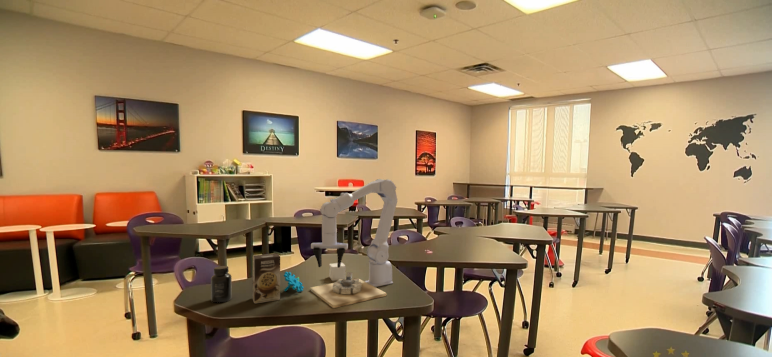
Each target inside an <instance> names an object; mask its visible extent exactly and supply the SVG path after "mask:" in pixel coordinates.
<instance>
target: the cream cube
mask: <svg viewBox="0 0 772 357" xmlns="http://www.w3.org/2000/svg"><path fill="white" fill-rule="evenodd" d="M337 264H338V262H335V263H329V270H328V272H329V273H328V274H329V278H330V280H331V281H334V282H336V281H338V279H342V280H343V281H344V280H346V276H347V274H346V273H347V272H346V271H347V270H346V265H345V263H343V262H341V265H340V267H339V268H338V266H337Z"/></svg>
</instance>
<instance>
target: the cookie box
mask: <svg viewBox="0 0 772 357" xmlns="http://www.w3.org/2000/svg"><path fill="white" fill-rule="evenodd" d="M279 300H281V255H280V254H278V253H276V252H275V253H268V254H267V253H266V254H257V255H256V254H255V255H254V254H253V255H252V301H253V303H254V304H261V303H267V302H274V301H279Z"/></svg>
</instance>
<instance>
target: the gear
mask: <svg viewBox="0 0 772 357" xmlns="http://www.w3.org/2000/svg"><path fill="white" fill-rule="evenodd" d="M283 277H284V280H285V281H286V282H287V286H286V287H285V288H284V289H283V291H284V292H285V293H286V292H287V291H288V290H289V289H290V288H292V289H293V290H294V291H295V290H296V292H298V293H300V292H301V293H302V292H303V291H304V289H305V287H304V286H303V283H302V282H301V281H300V277H299V276H297V277H296V275H295V274H294V273H293V274H292V272H291V271H285V272H284V273H283Z"/></svg>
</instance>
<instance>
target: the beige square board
mask: <svg viewBox="0 0 772 357" xmlns="http://www.w3.org/2000/svg"><path fill="white" fill-rule="evenodd" d="M354 279H358V281H360V282H361V283H362V289H361V291H360V292H357V293H354V294H352V293H351V294H341V293H340V294H338V293H335V292H333V284H334V283H335V282H332V283H327V284H321V285H317V286H312V287H311V286H310V288H309V291H310V292H312V293H313V294H314V295H315V296H317V297H318V298H319V299H320V300H322V301H323V302H324V303H326V304H327V305H329V306H330V307H331V308H332V309H335V308H340V307H344V306H349V305H352V304H358V303H362V302H365V301H370V300H374V299H378V298H379V299H380V298H382V297H386V296H387V295H388V294H387V292H385V291H383V290H381V289H379V288H377V287H374V286H372V285H370V284H368V283H366V282H365V281H364V280H362V279H360V278H355V277H354V278H352V280H354ZM351 284H352V281H351V280H346V279H344V280H343V287H350V286H351Z"/></svg>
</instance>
